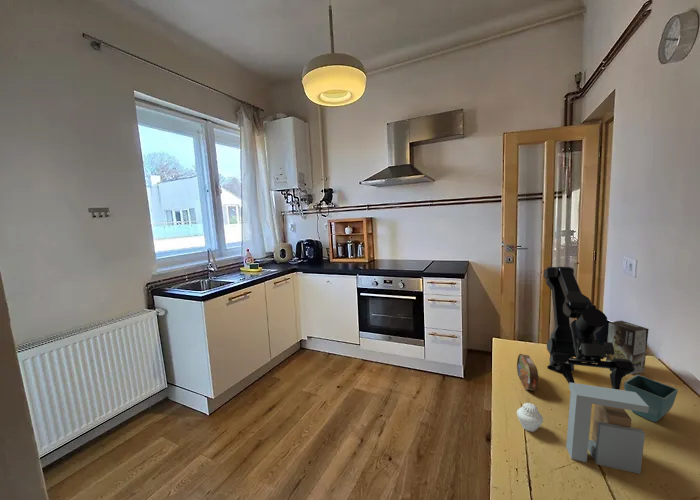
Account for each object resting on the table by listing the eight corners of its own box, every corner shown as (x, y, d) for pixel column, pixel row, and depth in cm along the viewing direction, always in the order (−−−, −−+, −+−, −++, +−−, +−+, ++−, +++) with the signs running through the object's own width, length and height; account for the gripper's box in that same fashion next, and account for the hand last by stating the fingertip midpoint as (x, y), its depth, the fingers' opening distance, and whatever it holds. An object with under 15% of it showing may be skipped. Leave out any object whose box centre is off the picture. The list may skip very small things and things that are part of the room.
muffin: (514, 418, 87) (515, 395, 86) (538, 422, 85) (540, 399, 84) (518, 433, 81) (520, 409, 80) (545, 438, 79) (546, 413, 78)
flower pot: (661, 430, 81) (665, 398, 80) (620, 411, 89) (623, 382, 88) (674, 418, 85) (678, 389, 84) (634, 401, 93) (637, 374, 92)
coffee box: (645, 372, 109) (650, 328, 107) (631, 374, 108) (636, 331, 105) (617, 360, 118) (621, 319, 116) (604, 362, 116) (608, 321, 114)
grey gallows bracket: (564, 442, 78) (569, 382, 76) (629, 456, 73) (636, 392, 71) (571, 459, 73) (576, 395, 70) (641, 475, 68) (650, 406, 66)
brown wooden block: (591, 438, 79) (595, 395, 78) (610, 441, 78) (615, 398, 76) (604, 462, 72) (609, 415, 70) (626, 466, 70) (631, 419, 69)
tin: (515, 371, 112) (517, 349, 111) (525, 372, 111) (526, 350, 110) (527, 395, 98) (529, 370, 96) (538, 396, 97) (540, 371, 96)
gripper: (552, 326, 89) (560, 383, 81) (634, 332, 82) (652, 395, 74) (546, 339, 98) (553, 391, 90) (620, 345, 90) (634, 403, 82)
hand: (595, 395), depth 84 cm, fingers open, 9 cm apart
